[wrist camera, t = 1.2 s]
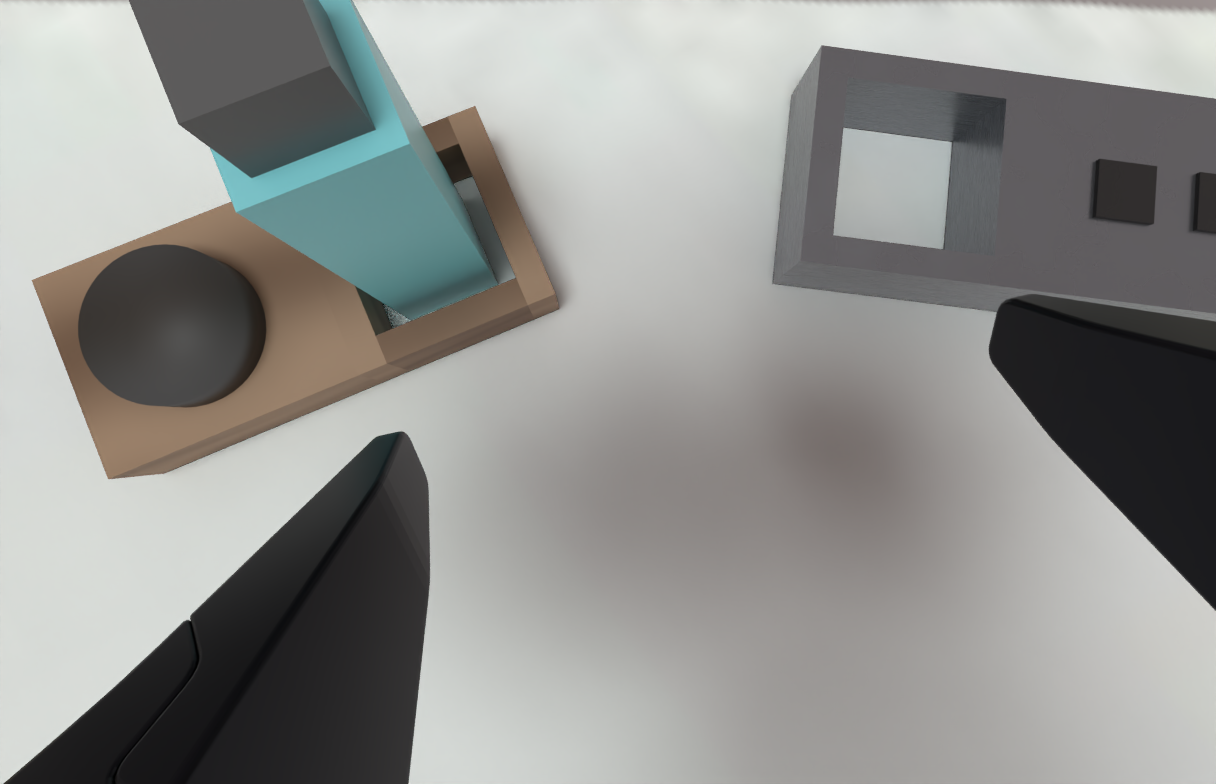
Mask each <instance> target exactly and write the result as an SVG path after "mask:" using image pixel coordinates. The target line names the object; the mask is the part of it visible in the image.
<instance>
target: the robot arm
mask: <svg viewBox="0 0 1216 784" xmlns="http://www.w3.org/2000/svg"><path fill="white" fill-rule="evenodd" d="M989 356H990V359H991V361H992V363H993V365H994V366H995V367H996V369H997V370H998V371H999V372H1000V374H1001V375H1002V376H1003V378H1004V379H1005V380H1006V381H1007V383H1008V384H1009V385H1010V387H1011V388H1012V389H1013V390H1014V392H1015V393H1016V394H1017V396H1018V397H1019V398H1020V399H1021V401H1022V402H1023V403H1024V405H1025V406H1026V407H1027V408H1028V410H1029V411H1030V412H1031V414H1032V415H1033V416H1034V417H1035V419H1036V420H1037V421H1038V423H1039V424H1040V425H1041V426H1042V428H1043V429H1044V430H1045V431H1046V433H1047V434H1048V435H1049V436H1050V437H1051V439H1052V440H1053V441H1054V442H1055V443H1056V444H1057V445H1058V446H1059V447H1060V448H1061V450H1062V451H1063V452H1064V453H1065V454H1066V455H1067V456H1068V457H1069V458H1070V459H1071V460H1072V461H1073V462H1074V463H1075V464H1076V465H1077V466H1078V467H1079V468H1080V469H1081V470H1082V471H1083V473H1084V474H1085V475H1086V476H1087V477H1088V478H1089V479H1090V480H1091V481H1092V482H1093V483H1094V484H1095V485H1096V486H1097V487H1098V488H1099V489H1100V490H1101V491H1102V492H1103V493H1104V494H1105V496H1106V497H1107V498H1108V499H1109V500H1110V501H1111V502H1112V503H1113V504H1114V505H1115V506H1116V507H1117V508H1118V509H1119V510H1120V511H1121V512H1122V513H1123V514H1124V515H1125V516H1126V517H1127V519H1128V520H1129V521H1130V522H1131V523H1132V524H1133V525H1134V526H1135V527H1136V528H1137V529H1138V530H1139V531H1140V532H1141V533H1142V534H1143V535H1144V536H1145V537H1146V538H1147V539H1148V541H1149V542H1150V543H1151V544H1152V545H1153V546H1154V547H1155V548H1156V549H1157V550H1158V551H1159V552H1160V553H1161V554H1162V555H1163V556H1164V557H1165V558H1166V559H1167V560H1168V561H1169V562H1170V564H1171V565H1172V566H1173V567H1174V568H1175V569H1176V570H1177V571H1178V572H1179V573H1180V574H1181V575H1182V576H1183V577H1184V578H1185V579H1186V580H1187V581H1188V582H1189V583H1190V584H1191V585H1192V587H1193V588H1194V589H1195V590H1196V591H1197V592H1198V593H1199V594H1200V595H1201V596H1202V597H1203V598H1204V599H1205V600H1206V601H1207V602H1208V603H1209V604H1210V605H1211V606H1212V607H1213V608H1214V610H1215V611H1216V321H1211V320H1204V319H1197V318H1191V317H1184V316H1178V315H1171V314H1164V313H1158V312H1151V311H1145V310H1138V309H1132V308H1125V307H1118V306H1112V305H1105V304H1099V303H1092V302H1086V301H1079V300H1072V299H1066V298H1059V297H1053V296H1046V295H1040V294H1027V295H1022V296H1018V297H1013V298H1009V299H1006V300H1005V301H1003V302H1002V303H1001V304H1000V306H999V307H998V310H997V314H996V318H995V322H994V327H993V331H992V335H991V340H990V344H989ZM429 585H430V540H429V490H428V482H427V477H426V474H425V472H424V469H423V467H422V465H421V462H420V460H419V458H418V456H417V453H416V451H415V449H414V446H413V444H412V442H411V440H410V438H409V436H408V435H407V434H406V433H405V432H395V433H391V434H386V435H381V436H378V437H376V438H374V439H373V440H372V441H371V442H370V443H369V444H368V445H367V446H366V447H365V448H364V449H363V450H362V451H361V452H360V453H359V454H358V455H356V456H355V457H354V458H353V459H352V460H351V461H350V462H349V463H348V464H347V465H346V466H345V467H344V468H343V469H342V470H341V471H340V472H339V473H338V474H337V475H336V476H335V477H334V478H333V479H332V480H331V481H330V482H328V483H327V484H326V485H325V486H324V487H323V488H322V489H321V490H320V491H319V492H318V493H317V494H316V495H315V496H314V497H313V498H312V499H311V500H310V501H309V502H308V503H307V504H306V505H305V506H304V507H302V508H301V509H300V510H299V511H298V512H297V513H296V514H295V515H294V516H293V517H292V518H291V519H290V520H289V521H288V522H287V523H286V524H285V525H284V526H283V527H282V528H281V529H280V530H279V531H278V532H277V533H275V534H274V535H273V536H272V537H271V538H270V539H269V540H268V541H267V542H266V543H265V544H264V545H263V546H262V547H261V548H260V549H259V550H258V551H257V552H256V553H255V554H254V555H253V556H252V557H251V558H249V559H248V560H247V561H246V562H245V563H244V564H243V565H242V566H241V567H240V568H239V569H238V570H237V571H236V572H235V573H234V574H233V575H232V576H231V577H230V578H229V579H228V580H227V581H226V582H225V583H223V584H222V585H221V586H220V587H219V588H218V589H217V590H216V591H215V592H214V593H213V594H212V595H211V596H210V597H209V598H208V599H207V600H206V601H205V602H204V603H203V604H202V605H201V606H200V607H199V608H198V609H196V610H195V611H194V612H193V613H192V614H191V616H190V620H191V621H190V620H186V621H184V622H183V623H182V624H181V625H180V626H179V627H178V628H177V629H176V630H175V631H173V632H172V633H171V634H170V635H169V636H168V637H167V638H166V639H165V640H164V641H163V642H162V643H161V644H160V645H159V646H158V647H157V648H156V649H155V650H154V651H153V652H152V653H150V654H149V655H148V656H147V657H146V658H145V659H144V660H143V661H142V662H141V663H140V664H139V665H138V666H137V667H135V668H134V669H133V670H132V671H131V672H130V673H129V674H128V675H127V676H126V677H125V678H124V679H123V680H122V681H120V682H119V683H118V684H117V685H116V686H115V687H114V688H113V689H112V690H111V691H110V692H108V693H107V694H106V695H105V696H104V697H103V698H102V699H100V700H99V701H98V702H97V703H96V704H95V705H94V706H92V707H91V708H90V709H89V710H88V711H87V712H86V713H85V714H83V715H82V716H81V717H80V718H79V719H78V720H77V721H75V722H74V723H73V724H72V725H71V726H70V727H69V728H67V729H66V730H65V731H64V732H63V733H62V734H61V735H60V736H58V737H57V738H56V739H55V740H54V741H53V742H51V743H50V744H49V745H48V746H47V747H46V748H44V749H43V750H42V751H41V752H40V753H39V754H37V755H36V756H35V757H34V758H33V759H32V760H31V761H29V762H28V763H27V764H26V765H25V766H24V767H22V768H21V769H20V770H19V771H18V772H17V773H15V774H14V775H13V776H12V777H11V778H10V779H9V780H7V781H6V782H5V783H4V784H408V782H409V773H410V764H411V755H412V745H413V736H414V727H415V717H416V708H417V699H418V690H419V680H420V671H421V662H422V653H423V643H424V634H425V625H426V616H427V606H428V597H429Z"/></svg>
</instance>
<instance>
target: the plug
mask: <svg viewBox="0 0 1216 784" xmlns="http://www.w3.org/2000/svg"><path fill="white" fill-rule="evenodd" d="M129 2H130V4H131V7H132V9H133V12H134V14H135V17H136V19H137V22H138V24H139V27H140V29H141V32H142V34H143V37H144V39H145V42H146V44H147V47H148V49H149V52H150V54H151V57H152V59H153V62H154V64H155V67H156V69H157V72H158V74H159V77H160V79H161V82H162V84H163V87H164V89H165V92H166V94H167V97H168V99H169V102H170V104H171V107H172V109H173V112H174V114H175V117H176V119H177V122H178V124H179V125H181V126H182V127H183V128H185V129H186V130H187V131H189V132H190V133H191V134H193V135H194V136H195V137H197V138H198V139H199V140H201V141H202V142H203V143H205V144H206V145H207V146H209V147H210V149H211V152H212V154H213V157H214V159H215V162H216V164H217V166H218V169H219V171H220V174H221V176H222V179H223V181H224V184H225V186H226V189H227V191H228V194H229V196H230V199H231V201H232V204H233V206H234V209H235V211H236V213H238V214H240V215H241V216H243V217H244V218H246V219H248V220H249V221H251V222H253V223H254V224H256V225H257V226H259V227H261V228H262V229H264V230H266V231H267V232H269V233H270V234H272V235H274V236H275V237H277V238H279V239H280V240H282V241H283V242H285V243H287V244H288V245H290V246H291V247H293V248H295V249H296V250H298V251H300V252H301V253H303V254H304V255H306V256H308V257H309V258H311V259H313V260H314V261H316V262H317V263H319V264H321V265H322V266H324V267H325V268H327V269H329V270H330V271H332V272H334V273H335V274H337V275H338V276H340V277H342V278H343V279H345V280H347V281H348V282H350V283H351V284H353V285H355V286H356V287H358V288H360V289H361V290H363V291H364V292H366V293H368V294H369V295H371V296H372V297H374V298H376V299H377V300H379V301H381V302H382V303H384V304H385V305H387V306H389V307H390V308H392V309H394V310H395V311H397V312H398V313H400V314H402V315H403V316H405V317H406V318H408V319H410V320H413V319H416V318H418V317H420V316H423V315H425V314H428V313H430V312H433V311H435V310H437V309H440V308H442V307H445V306H447V305H450V304H452V303H454V302H457V301H459V300H462V299H464V298H467V297H469V296H471V295H474V294H476V293H479V292H481V291H484V290H486V289H488V288H491V287H493V286H496V285H498V283H497V280H496V278H495V276H494V273H493V271H492V269H491V266H490V264H489V262H488V259H487V257H486V254H485V252H484V250H483V247H482V245H481V243H480V240H479V238H478V236H477V233H476V231H475V229H474V226H473V224H472V221H471V219H470V217H469V214H468V212H467V210H466V207H465V205H464V203H463V200H462V198H461V197H460V195H459V193H458V191H457V189H456V188H455V186H454V184H453V182H452V180H451V179H450V177H449V175H448V173H447V171H446V169H445V168H444V166H443V164H442V162H441V160H440V159H439V157H438V155H437V153H436V151H435V150H434V148H433V146H432V144H431V142H430V140H429V139H428V137H427V135H426V133H425V131H424V130H423V128H422V126H421V124H420V122H419V121H418V119H417V117H416V115H415V113H414V111H413V110H412V108H411V106H410V104H409V102H408V101H407V99H406V97H405V95H404V93H403V92H402V90H401V88H400V86H399V84H398V83H397V81H396V79H395V77H394V75H393V73H392V72H391V70H390V68H389V66H388V64H387V63H386V61H385V59H384V57H383V55H382V54H381V52H380V50H379V48H378V46H377V44H376V43H375V41H374V39H373V37H372V35H371V34H370V32H369V30H368V28H367V26H366V25H365V23H364V21H363V19H362V17H361V15H360V14H359V12H358V10H357V8H356V6H355V5H354V3H353V1H352V0H129Z"/></svg>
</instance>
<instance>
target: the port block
mask: <svg viewBox="0 0 1216 784" xmlns="http://www.w3.org/2000/svg"><path fill="white" fill-rule="evenodd" d="M843 127H848V128H855V129H863V130H870V131H878V132H885V133H893V134H900V135H908V136H916V137H923V138H931V139H938V140H946V141H953V145H952V158H951V170H950V182H949V194H948V206H947V219H946V231H945V243H944V250H942V249H935V248H927V247H919V246H911V245H903V244H895V243H888V242H880V241H872V240H864V239H856V238H849V237H841V236H833V229H834V219H835V208H836V198H837V187H838V177H839V166H840V156H841V145H842V135H843ZM773 284H781V285H789V286H797V287H805V288H813V289H821V290H829V291H837V292H845V293H853V294H861V295H869V296H877V297H885V298H893V299H901V300H909V301H916V302H924V303H932V304H940V305H948V306H956V307H964V308H972V309H980V310H988V311H996V312H997V310H998V307H999V306H1000V304H1001V303H1002V302H1003V301H1005V300H1006V299H1009V298H1013V297H1018V296H1022V295H1027V294H1040V295H1046V296H1053V297H1059V298H1066V299H1072V300H1079V301H1086V302H1092V303H1099V304H1105V305H1112V306H1118V307H1125V308H1132V309H1138V310H1145V311H1151V312H1158V313H1164V314H1171V315H1178V316H1184V317H1191V318H1197V319H1204V320H1211V321H1216V99H1213V98H1206V97H1198V96H1191V95H1184V94H1176V93H1169V92H1161V91H1154V90H1147V89H1139V88H1132V87H1125V86H1117V85H1110V84H1102V83H1095V82H1088V81H1080V80H1073V79H1066V78H1058V77H1051V76H1043V75H1036V74H1029V73H1021V72H1014V71H1006V70H999V69H992V68H984V67H977V66H970V65H962V64H955V63H947V62H940V61H933V60H925V59H918V58H911V57H903V56H896V55H888V54H881V53H874V52H866V51H859V50H852V49H844V48H837V47H829V46H821V47H820V49H819V51H818V52H817V54H816V56H815V57H814V59H813V61H812V62H811V64H810V66H809V67H808V69H807V71H806V72H805V74H804V75H803V77H802V79H801V80H800V82H799V84H798V85H797V87H796V89H795V90H794V92H793V94H792V96H791V106H790V116H789V126H788V136H787V146H786V156H785V165H784V175H783V185H782V195H781V205H780V215H779V225H778V234H777V244H776V254H775V264H774V274H773Z"/></svg>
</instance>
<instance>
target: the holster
mask: <svg viewBox="0 0 1216 784" xmlns="http://www.w3.org/2000/svg"><path fill="white" fill-rule="evenodd" d="M422 128H423V130H424V131H425V133H426V135H427V137H428V139H429V140H430V142H431V144H432V146H433V148H434V150H435V151H436V153H437V155H438V157H439V159H440V160H441V162H442V164H443V166H444V168H445V169H446V171H447V173H448V175H449V177H450V179H451V180H452V182H453V183H455V182H457V181H460V180H462V179H465V178H467V177H470V176H472V175H473V178H474V180H475V182H476V185H477V187H478V189H479V192H480V194H481V196H482V199H483V201H484V203H485V206H486V208H487V211H488V213H489V215H490V218H491V220H492V222H493V225H494V227H495V229H496V232H497V234H498V236H499V239H500V241H501V243H502V246H503V248H504V250H505V253H506V255H507V257H508V260H509V262H510V265H511V267H512V269H513V272H514V274H515V276H516V278H515V279H512V280H510V281H507V282H505V283H503V284H500V285H498V286H495V287H493V288H490V289H488V290H486V291H483V292H481V293H478V294H476V295H473V296H471V297H469V298H466V299H464V300H461V301H459V302H456V303H454V304H452V305H449V306H447V307H444V308H442V309H439V310H437V311H435V312H432V313H430V314H427V315H425V316H422V317H420V318H418V319H415V320H413V321H410V322H408V323H405V324H403V325H401V326H398V327H396V328H393V329H392V327H391V324H390V322H389V319H388V317H387V315H386V312H385V310H384V307H383V305H382V302H381V301H379V300H377V299H376V298H374V297H372V296H371V295H369V294H368V293H366V292H364V291H363V290H361V289H360V288H358V287H356V286H355V285H353V284H351V283H350V282H348V281H347V280H345V279H343V278H342V277H340V276H338V275H337V274H335V273H334V272H332V271H330V270H329V269H327V268H325V267H324V266H322V265H321V264H319V263H317V262H316V261H314V260H313V259H311V258H309V257H308V256H306V255H304V254H303V253H301V252H300V251H298V250H296V249H295V248H293V247H291V246H290V245H288V244H287V243H285V242H283V241H282V240H280V239H279V238H277V237H275V236H274V235H272V234H270V233H269V232H267V231H266V230H264V229H262V228H261V227H259V226H257V225H256V224H254V223H253V222H251V221H249V220H248V219H246V218H244V217H243V216H241V215H240V214H238V213H236V211H235V209H234V206H233V204H232V202H230V203H227V204H225V205H222V206H219V207H217V208H214V209H212V210H209V211H207V212H204V213H202V214H199V215H197V216H194V217H191V218H189V219H186V220H184V221H181V222H179V223H176V224H174V225H171V226H169V227H166V228H163V229H161V230H158V231H156V232H153V233H151V234H148V235H146V236H143V237H141V238H138V239H136V240H133V241H130V242H128V243H125V244H123V245H120V246H118V247H115V248H113V249H110V250H108V251H105V252H102V253H100V254H97V255H95V256H92V257H90V258H87V259H85V260H82V261H80V262H77V263H74V264H72V265H69V266H67V267H64V268H62V269H59V270H57V271H54V272H52V273H49V274H46V275H44V276H41V277H39V278H36V279H34V280H32V282H33V285H34V287H35V290H36V292H37V295H38V298H39V300H40V303H41V305H42V308H43V311H44V313H45V316H46V318H47V321H48V324H49V326H50V329H51V331H52V334H53V337H54V339H55V342H56V344H57V347H58V350H59V352H60V355H61V357H62V360H63V363H64V365H65V368H66V370H67V373H68V376H69V378H70V381H71V383H72V386H73V389H74V391H75V394H76V396H77V399H78V402H79V404H80V407H81V409H82V412H83V415H84V417H85V420H86V423H87V425H88V428H89V430H90V433H91V436H92V438H93V441H94V443H95V446H96V449H97V451H98V454H99V456H100V459H101V462H102V464H103V467H104V469H105V472H106V475H107V477H108V479H115V478H125V477H134V476H144V475H154V474H164V473H166V472H169V471H171V470H174V469H176V468H178V467H181V466H183V465H186V464H188V463H190V462H193V461H195V460H198V459H200V458H202V457H205V456H207V455H210V454H212V453H214V452H217V451H219V450H222V449H224V448H226V447H229V446H231V445H234V444H236V443H238V442H241V441H243V440H246V439H248V438H250V437H253V436H255V435H258V434H260V433H262V432H265V431H267V430H270V429H272V428H274V427H277V426H279V425H282V424H284V423H286V422H289V421H291V420H294V419H296V418H298V417H301V416H303V415H306V414H308V413H310V412H313V411H315V410H318V409H320V408H322V407H325V406H327V405H330V404H332V403H335V402H337V401H339V400H342V399H344V398H347V397H349V396H351V395H354V394H356V393H359V392H361V391H363V390H366V389H368V388H371V387H373V386H375V385H378V384H380V383H383V382H385V381H387V380H390V379H392V378H395V377H397V376H399V375H402V374H404V373H407V372H409V371H411V370H414V369H416V368H419V367H421V366H423V365H426V364H428V363H431V362H433V361H435V360H438V359H440V358H443V357H445V356H447V355H450V354H452V353H455V352H457V351H459V350H462V349H464V348H467V347H469V346H471V345H474V344H476V343H479V342H481V341H483V340H486V339H488V338H491V337H493V336H495V335H498V334H500V333H503V332H505V331H507V330H510V329H512V328H515V327H517V326H519V325H522V324H524V323H527V322H529V321H531V320H534V319H536V318H539V317H541V316H543V315H546V314H548V313H551V312H553V311H555V310H558V309H559V306H558V302H557V298H556V294H555V291H554V289H553V287H552V284H551V282H550V280H549V277H548V275H547V273H546V270H545V268H544V266H543V263H542V261H541V259H540V256H539V254H538V252H537V249H536V247H535V245H534V242H533V240H532V238H531V235H530V233H529V231H528V228H527V226H526V224H525V221H524V219H523V217H522V214H521V212H520V210H519V207H518V205H517V203H516V200H515V198H514V196H513V193H512V191H511V189H510V186H509V184H508V182H507V179H506V177H505V175H504V172H503V170H502V168H501V165H500V163H499V161H498V158H497V156H496V154H495V151H494V149H493V147H492V144H491V142H490V140H489V137H488V135H487V133H486V130H485V128H484V126H483V123H482V121H481V119H480V116H479V114H478V112H477V109H476V107H475V106H474V107H471V108H469V109H466V110H464V111H461V112H459V113H456V114H453V115H451V116H448V117H446V118H443V119H441V120H438V121H436V122H433V123H431V124H428V125H425V126H423V127H422Z"/></svg>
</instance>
